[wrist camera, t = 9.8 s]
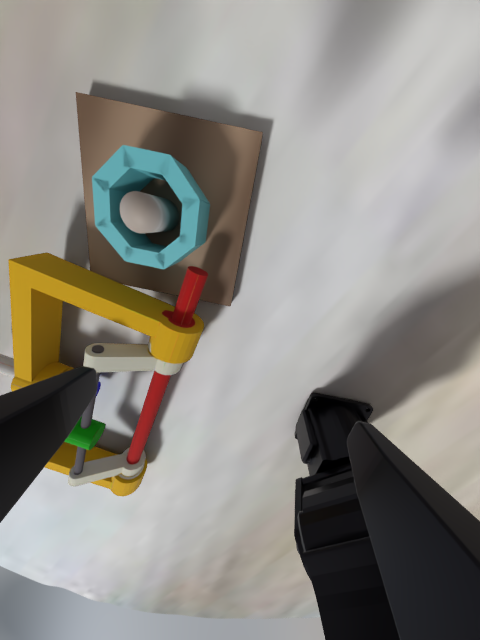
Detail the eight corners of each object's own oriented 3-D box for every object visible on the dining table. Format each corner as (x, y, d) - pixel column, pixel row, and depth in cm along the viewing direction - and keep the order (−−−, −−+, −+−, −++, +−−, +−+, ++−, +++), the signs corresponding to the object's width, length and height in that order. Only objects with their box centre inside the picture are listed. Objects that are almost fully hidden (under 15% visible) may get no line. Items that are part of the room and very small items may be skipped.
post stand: (262, 137, 15) (264, 100, 11) (231, 302, 20) (223, 326, 15) (86, 100, 15) (11, 45, 10) (98, 275, 20) (50, 290, 15)
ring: (213, 173, 15) (203, 161, 12) (202, 266, 18) (192, 275, 15) (121, 154, 15) (89, 137, 12) (123, 250, 18) (97, 255, 15)
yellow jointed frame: (209, 303, 12) (119, 531, 25) (226, 275, 18) (145, 473, 31) (-159, 145, 10) (-53, 478, 23) (-10, 169, 16) (9, 426, 29)
